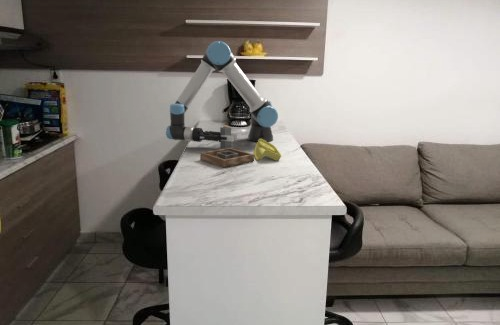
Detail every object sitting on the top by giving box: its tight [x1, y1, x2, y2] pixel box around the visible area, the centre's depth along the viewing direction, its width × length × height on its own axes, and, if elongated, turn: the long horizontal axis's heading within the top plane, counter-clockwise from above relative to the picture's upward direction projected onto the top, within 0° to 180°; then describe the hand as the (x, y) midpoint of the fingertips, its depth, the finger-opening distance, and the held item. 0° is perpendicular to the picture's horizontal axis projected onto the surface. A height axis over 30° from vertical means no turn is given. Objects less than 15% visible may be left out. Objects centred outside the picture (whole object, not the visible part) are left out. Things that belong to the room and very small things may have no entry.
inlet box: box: [199, 147, 255, 169], centre depth 184 cm, size 18×18×4 cm
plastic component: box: [253, 139, 282, 162], centre depth 194 cm, size 20×7×10 cm
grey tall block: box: [219, 124, 232, 150], centre depth 204 cm, size 4×4×13 cm
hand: (235, 137), depth 203 cm, fingers closed on grey tall block, 5 cm apart
